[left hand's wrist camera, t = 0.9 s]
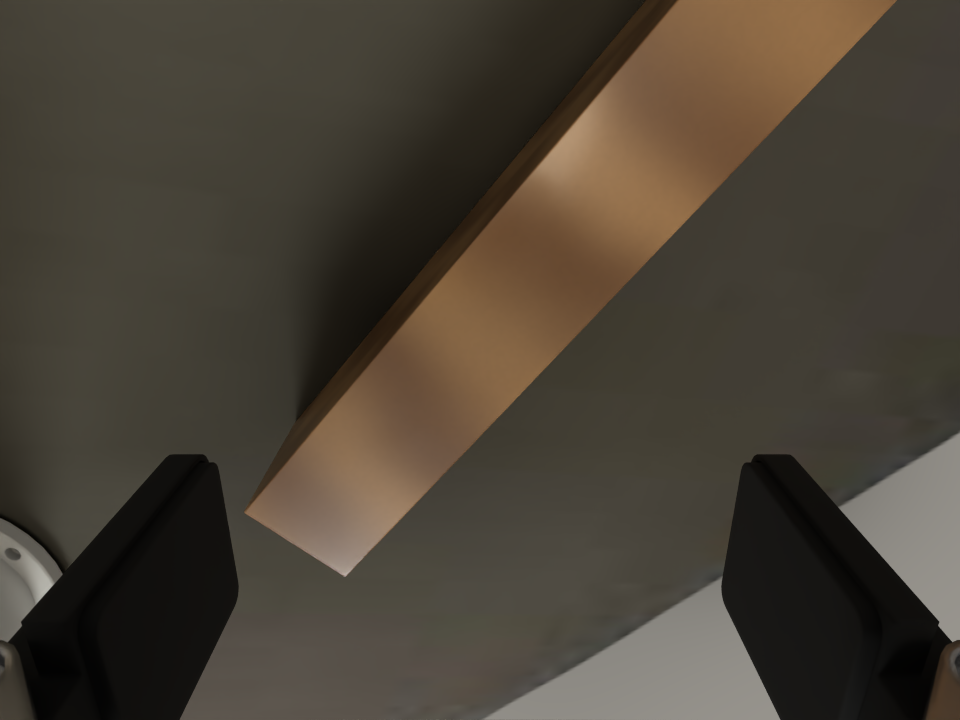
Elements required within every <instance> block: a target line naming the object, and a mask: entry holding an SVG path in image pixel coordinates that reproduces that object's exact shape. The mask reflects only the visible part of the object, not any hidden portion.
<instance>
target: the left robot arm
mask: <svg viewBox="0 0 960 720" xmlns="http://www.w3.org/2000/svg"><path fill="white" fill-rule="evenodd" d="M238 587H239V586H238V578H237V572H236V567H235V561H234V555H233V549H232V544H231V538H230V532H229V526H228V521H227V515H226V509H225V503H224V497H223V492H222V486H221V480H220V474H219V470H218V466H217V465H216V464H215V463H209V461H208V459H207V457H206V456H205V455H203V454H173V455H169V456H168V457H166V458H165V459H164V461H163V462H162V463H161V464H160V465H159V466H158V467H157V468H156V470H155V471H154V472H153V473H152V474H151V475H150V476H149V477H148V479H147V480H146V481H145V482H144V483H143V484H142V485H141V486H140V488H139V489H138V490H137V491H136V492H135V493H134V494H133V496H132V497H131V498H130V499H129V500H128V501H127V502H126V503H125V505H124V506H123V507H122V508H121V509H120V510H119V511H118V512H117V514H116V515H115V516H114V517H113V518H112V519H111V520H110V522H109V523H108V524H107V525H106V526H105V527H104V528H103V529H102V531H101V532H100V533H99V534H98V535H97V536H96V537H95V538H94V540H93V541H92V542H91V543H90V544H89V545H88V546H87V547H86V549H85V550H84V551H83V552H82V553H81V554H80V555H79V557H78V558H77V559H76V560H75V561H74V562H73V563H72V564H71V566H70V567H69V568H68V569H67V570H66V571H65V572H64V573H63V574H62V572H61V570H60V569H59V567H58V565H57V564H56V562H55V561H54V560H53V559H52V557H51V556H50V555H49V554H48V553H47V551H46V550H45V549H44V548H43V547H42V546H41V545H40V544H39V543H37V542H36V541H35V540H34V539H33V538H32V537H30V536H29V535H28V534H27V533H25V532H24V531H22V530H21V529H19V528H17V527H16V526H14V525H13V524H11V523H10V522H8V521H5V520H3V519H1V518H0V720H180V718H181V715H182V713H183V711H184V709H185V707H186V705H187V703H188V701H189V699H190V697H191V695H192V693H193V691H194V689H195V687H196V685H197V683H198V681H199V679H200V676H201V674H202V672H203V670H204V668H205V666H206V664H207V662H208V660H209V658H210V656H211V654H212V652H213V650H214V648H215V646H216V644H217V642H218V640H219V638H220V635H221V633H222V631H223V629H224V627H225V625H226V623H227V621H228V619H229V617H230V615H231V613H232V611H233V609H234V607H235V604H236V601H237V597H238ZM721 587H722V597H723V601H724V604H725V607H726V609H727V611H728V613H729V615H730V617H731V619H732V621H733V623H734V625H735V627H736V629H737V631H738V633H739V635H740V637H741V640H742V642H743V644H744V646H745V648H746V650H747V652H748V654H749V656H750V658H751V660H752V662H753V664H754V666H755V668H756V670H757V672H758V674H759V676H760V679H761V680H762V683H763V685H764V687H765V689H766V691H767V693H768V695H769V697H770V699H771V701H772V703H773V705H774V707H775V709H776V711H777V713H778V715H779V718H780V720H960V640H957V641H954V642H952V641H951V640H950V639H949V638H948V637H947V636H946V634H945V633H944V632H943V631H942V630H941V629H940V628H939V626H938V624H939V621H938V620H937V619H936V618H935V616H934V615H933V614H932V613H931V612H930V611H929V610H928V608H927V607H926V606H925V605H924V604H923V603H922V602H921V601H920V599H919V598H918V597H917V596H916V595H915V594H914V593H913V592H912V590H911V589H910V588H909V587H908V586H907V585H906V584H905V583H904V581H903V580H902V579H901V578H900V577H899V576H898V575H897V574H896V572H895V571H894V570H893V569H892V568H891V567H890V566H889V564H888V563H887V562H886V561H885V560H884V559H883V558H882V557H881V555H880V554H879V553H878V552H877V551H876V550H875V549H874V547H873V546H872V545H871V544H870V543H869V542H868V541H867V540H866V539H865V537H864V536H863V535H862V534H861V533H860V532H859V531H858V530H857V528H856V527H855V526H854V525H853V524H852V523H851V522H850V520H849V519H848V518H847V517H846V516H845V515H844V514H843V513H842V511H841V510H840V509H839V508H838V507H837V506H836V505H835V503H834V502H833V501H832V500H831V499H830V498H829V497H828V496H827V494H826V493H825V492H824V491H823V490H822V489H821V488H820V486H819V485H818V484H817V483H816V482H815V481H814V480H813V479H812V477H811V476H810V475H809V474H808V473H807V472H806V471H805V470H804V468H803V467H802V466H801V465H800V464H799V463H798V462H797V461H796V459H795V458H794V457H792V456H791V455H787V454H757V455H755V456H754V457H753V459H752V461H751V463H745V464H744V465H743V466H742V470H741V474H740V480H739V486H738V492H737V498H736V503H735V509H734V515H733V521H732V526H731V532H730V538H729V544H728V549H727V555H726V561H725V567H724V573H723V578H722V586H721Z"/></svg>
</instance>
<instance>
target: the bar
mask: <svg viewBox="0 0 960 720" xmlns="http://www.w3.org/2000/svg"><path fill="white" fill-rule="evenodd" d="M896 1H897V0H646V1H645V2H644V3H643V4H642V6H641V7H640V8H639V9H638V10H637V12H636V13H635V14H634V15H633V16H632V18H631V19H630V20H629V21H628V22H627V24H626V25H625V26H624V27H623V29H622V30H621V31H620V32H619V33H618V35H617V36H616V37H615V38H614V39H613V41H612V42H611V43H610V44H609V45H608V47H607V48H606V49H605V50H604V51H603V53H602V54H601V55H600V56H599V57H598V59H597V60H596V61H595V62H594V63H593V65H592V66H591V67H590V68H589V69H588V71H587V72H586V73H585V74H584V75H583V77H582V78H581V79H580V80H579V81H578V83H577V84H576V85H575V86H574V87H573V89H572V90H571V91H570V92H569V93H568V95H567V96H566V97H565V98H564V99H563V101H562V102H561V103H560V104H559V105H558V107H557V108H556V109H555V110H554V112H553V113H552V114H551V115H550V116H549V118H548V119H547V120H546V121H545V122H544V124H543V125H542V126H541V127H540V128H539V130H538V131H537V132H536V133H535V134H534V136H533V137H532V138H531V139H530V140H529V142H528V143H527V144H526V145H525V146H524V148H523V149H522V150H521V151H520V152H519V154H518V155H517V156H516V157H515V158H514V160H513V161H512V162H511V163H510V164H509V166H508V167H507V168H506V169H505V170H504V172H503V173H502V174H501V175H500V176H499V178H498V179H497V180H496V181H495V182H494V184H493V185H492V186H491V187H490V189H489V190H488V191H487V192H486V193H485V195H484V196H483V197H482V198H481V199H480V201H479V202H478V203H477V204H476V205H475V207H474V208H473V209H472V210H471V211H470V213H469V214H468V215H467V216H466V217H465V219H464V220H463V221H462V222H461V223H460V225H459V226H458V227H457V228H456V229H455V231H454V232H453V233H452V234H451V235H450V237H449V238H448V239H447V240H446V241H445V243H444V244H443V245H442V246H441V247H440V249H439V250H438V251H437V252H436V253H435V255H434V256H433V257H432V258H431V259H430V261H429V262H428V263H427V264H426V265H425V267H424V268H423V269H422V270H421V272H420V273H419V274H418V275H417V276H416V278H415V279H414V280H413V281H412V282H411V284H410V285H409V286H408V287H407V288H406V290H405V291H404V292H403V293H402V294H401V296H400V297H399V298H398V299H397V300H396V302H395V303H394V304H393V305H392V306H391V308H390V309H389V310H388V311H387V312H386V314H385V315H384V316H383V317H382V318H381V320H380V321H379V322H378V323H377V324H376V326H375V327H374V328H373V329H372V330H371V332H370V333H369V334H368V335H367V336H366V338H365V339H364V340H363V341H362V342H361V344H360V345H359V346H358V347H357V349H356V350H355V351H354V352H353V353H352V355H351V356H350V357H349V358H348V359H347V361H346V362H345V363H344V364H343V365H342V367H341V368H340V369H339V370H338V371H337V373H336V374H335V375H334V376H333V377H332V379H331V380H330V381H329V382H328V383H327V385H326V386H325V387H324V388H323V389H322V391H321V392H320V393H319V394H318V395H317V397H316V398H315V399H314V400H313V401H312V403H311V404H310V405H309V406H308V407H307V409H306V410H305V411H304V412H303V413H302V415H301V416H300V417H299V418H298V419H297V421H296V422H295V424H294V425H293V427H292V429H291V430H290V432H289V434H288V436H287V437H286V439H285V441H284V443H283V444H282V446H281V448H280V450H279V451H278V453H277V455H276V457H275V458H274V460H273V462H272V464H271V465H270V467H269V469H268V471H267V472H266V474H265V476H264V478H263V479H262V481H261V483H260V485H259V486H258V488H257V490H256V492H255V493H254V495H253V497H252V499H251V500H250V502H249V504H248V506H247V507H246V509H245V511H244V513H246V514H247V515H249V516H250V517H252V518H253V519H255V520H256V521H258V522H260V523H261V524H263V525H264V526H266V527H267V528H269V529H271V530H272V531H274V532H275V533H277V534H278V535H280V536H282V537H283V538H285V539H286V540H288V541H289V542H291V543H292V544H294V545H296V546H297V547H299V548H300V549H302V550H303V551H305V552H307V553H308V554H310V555H311V556H313V557H314V558H316V559H317V560H319V561H321V562H322V563H324V564H325V565H327V566H328V567H330V568H332V569H333V570H335V571H336V572H338V573H339V574H341V575H342V576H344V577H346V576H347V575H348V574H349V573H350V572H351V571H352V570H353V569H354V568H355V567H356V566H357V565H358V564H359V562H360V561H361V560H362V559H363V558H364V557H365V556H366V555H367V554H368V553H369V552H370V551H371V550H372V549H373V548H374V547H375V546H376V545H377V544H378V543H379V542H380V540H381V539H382V538H383V537H384V536H385V535H386V534H387V533H388V532H389V531H390V530H391V529H392V528H393V527H394V526H395V525H396V524H397V523H398V522H399V521H400V520H401V519H402V517H403V516H404V515H405V514H406V513H407V512H408V511H409V510H410V509H411V508H412V507H413V506H414V505H415V504H416V503H417V502H418V501H419V500H420V499H421V498H422V497H423V496H424V494H425V493H426V492H427V491H428V490H429V489H430V488H431V487H432V486H433V485H434V484H435V483H436V482H437V481H438V480H439V479H440V478H441V477H442V476H443V475H444V474H445V473H446V471H447V470H448V469H449V468H450V467H451V466H452V465H453V464H454V463H455V462H456V461H457V460H458V459H459V458H460V457H461V456H462V455H463V454H464V453H465V452H466V451H467V450H468V448H469V447H470V446H471V445H472V444H473V443H474V442H475V441H476V440H477V439H478V438H479V437H480V436H481V435H482V434H483V433H484V432H485V431H486V430H487V429H488V428H489V427H490V425H491V424H492V423H493V422H494V421H495V420H496V419H497V418H498V417H499V416H500V415H501V414H502V413H503V412H504V411H505V410H506V409H507V408H508V407H509V406H510V405H511V403H512V402H513V401H514V400H515V399H516V398H517V397H518V396H519V395H520V394H521V393H522V392H523V391H524V390H525V389H526V388H527V387H528V386H529V385H530V384H531V383H532V382H533V380H534V379H535V378H536V377H537V376H538V375H539V374H540V373H541V372H542V371H543V370H544V369H545V368H546V367H547V366H548V365H549V364H550V363H551V362H552V361H553V360H554V359H555V357H556V356H557V355H558V354H559V353H560V352H561V351H562V350H563V349H564V348H565V347H566V346H567V345H568V344H569V343H570V342H571V341H572V340H573V339H574V338H575V337H576V336H577V334H578V333H579V332H580V331H581V330H582V329H583V328H584V327H585V326H586V325H587V324H588V323H589V322H590V321H591V320H592V319H593V318H594V317H595V316H596V315H597V314H598V313H599V311H600V310H601V309H602V308H603V307H604V306H605V305H606V304H607V303H608V302H609V301H610V300H611V299H612V298H613V297H614V296H615V295H616V294H617V293H618V292H619V291H620V290H621V288H622V287H623V286H624V285H625V284H626V283H627V282H628V281H629V280H630V279H631V278H632V277H633V276H634V275H635V274H636V273H637V272H638V271H639V270H640V269H641V268H642V267H643V265H644V264H645V263H646V262H647V261H648V260H649V259H650V258H651V257H652V256H653V255H654V254H655V253H656V252H657V251H658V250H659V249H660V248H661V247H662V246H663V245H664V243H665V242H666V241H667V240H668V239H669V238H670V237H671V236H672V235H673V234H674V233H675V232H676V231H677V230H678V229H679V228H680V227H681V226H682V225H683V224H684V223H685V222H686V220H687V219H688V218H689V217H690V216H691V215H692V214H693V213H694V212H695V211H696V210H697V209H698V208H699V207H700V206H701V205H702V204H703V203H704V202H705V201H706V200H707V199H708V197H709V196H710V195H711V194H712V193H713V192H714V191H715V190H716V189H717V188H718V187H719V186H720V185H721V184H722V183H723V182H724V181H725V180H726V179H727V178H728V177H729V176H730V174H731V173H732V172H733V171H734V170H735V169H736V168H737V167H738V166H739V165H740V164H741V163H742V162H743V161H744V160H745V159H746V158H747V157H748V156H749V155H750V154H751V153H752V151H753V150H754V149H755V148H756V147H757V146H758V145H759V144H760V143H761V142H762V141H763V140H764V139H765V138H766V137H767V136H768V135H769V134H770V133H771V132H772V131H773V130H774V128H775V127H776V126H777V125H778V124H779V123H780V122H781V121H782V120H783V119H784V118H785V117H786V116H787V115H788V114H789V113H790V112H791V111H792V110H793V109H794V108H795V107H796V105H797V104H798V103H799V102H800V101H801V100H802V99H803V98H804V97H805V96H806V95H807V94H808V93H809V92H810V91H811V90H812V89H813V88H814V87H815V86H816V85H817V83H818V82H819V81H820V80H821V79H822V78H823V77H824V76H825V75H826V74H827V73H828V72H829V71H830V70H831V69H832V68H833V67H834V66H835V65H836V64H837V63H838V62H839V60H840V59H841V58H842V57H843V56H844V55H845V54H846V53H847V52H848V51H849V50H850V49H851V48H852V47H853V46H854V45H855V44H856V43H857V42H858V41H859V40H860V39H861V37H862V36H863V35H864V34H865V33H866V32H867V31H868V30H869V29H870V28H871V27H872V26H873V25H874V24H875V23H876V22H877V21H878V20H879V19H880V18H881V17H882V16H883V14H884V13H885V12H886V11H887V10H888V9H889V8H890V7H891V6H892V5H893V4H894V3H895V2H896Z"/></svg>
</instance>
